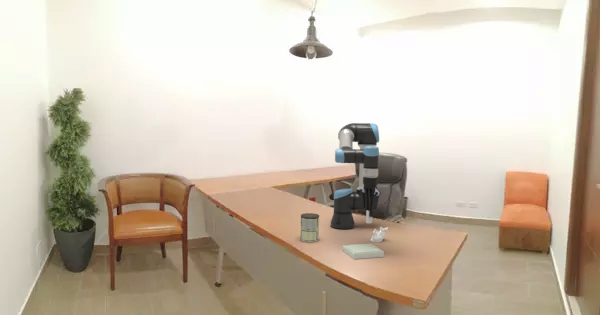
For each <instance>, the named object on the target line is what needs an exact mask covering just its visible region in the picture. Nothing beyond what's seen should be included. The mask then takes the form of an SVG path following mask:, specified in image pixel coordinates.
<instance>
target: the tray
mask: <svg viewBox="0 0 600 315" xmlns="http://www.w3.org/2000/svg"><path fill="white" fill-rule="evenodd" d="M342 252H344V253H345V254H346V255H347V256H349V257H350V258H351V259H353V260H361V259H377V258H384V257H385V252H384V250H382V249H381V248H379V247H378V246H376V245H374V244H372V243H360V244H359V243H356V244H347V245H346V244H344V245H342Z"/></svg>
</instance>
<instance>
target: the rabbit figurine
mask: <svg viewBox="0 0 600 315" xmlns="http://www.w3.org/2000/svg"><path fill="white" fill-rule="evenodd" d="M388 229H389V226H388V227H385V228H383V227H382V226H380V227H379V231H378V229H376V228H374V230H373V231H372V236H371V237H370V239H369V241H370V242H371V243H382V241H383V240H384V239H385V238H386V231H388Z"/></svg>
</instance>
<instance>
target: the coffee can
mask: <svg viewBox="0 0 600 315" xmlns="http://www.w3.org/2000/svg"><path fill="white" fill-rule="evenodd" d="M319 223H320V214H318V213H314V212H313V213H312V212H311V213H310V212H309V213H308V212H306V213H302V214H301V215H300V241H302V242H304V243H315V242H318V241H319V225H320V224H319Z"/></svg>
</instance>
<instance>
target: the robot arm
mask: <svg viewBox="0 0 600 315" xmlns="http://www.w3.org/2000/svg"><path fill="white" fill-rule="evenodd" d="M337 135H338V136H337V137H338V138H337V139H338V140H339V142H338V143H339V145H338V148H335V150H334V161H335V163H336V164H337V163H338V164H359V168H358V170H359V172H358V173H359V174H358V175H359V176H358V178H359V179H358V187H356V191H355V190H353V188H341V189H338V190H334V194H333V214H332V218H331V219H330V227H332V228H334V229H340V230H341V229H342V230H350V229H354V228H355V224H356V223H355V219H354V217H353V211H361V210H363V211H365V219H366V220H365V223H366V224H373V218H374V211H375V210H377V207H378V203H379V200H380V199H379V198H380V195H381V191H378V184H379V178H378V177H379V156H380V149H379V148H380V147H379V146H377V145H378V143H380V131H379V126H378V125H377V124H376V123H369V122H368V123H365V122H364V123H362V122H361V123H359V122H358V123H356V122H352V123H348V124H346V125H344V126H343V127H341V129H339V131H338V134H337ZM353 143H357V146H358V147H359V148H358V149H353V148H354V147H353ZM363 211H362V212H363Z"/></svg>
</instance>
